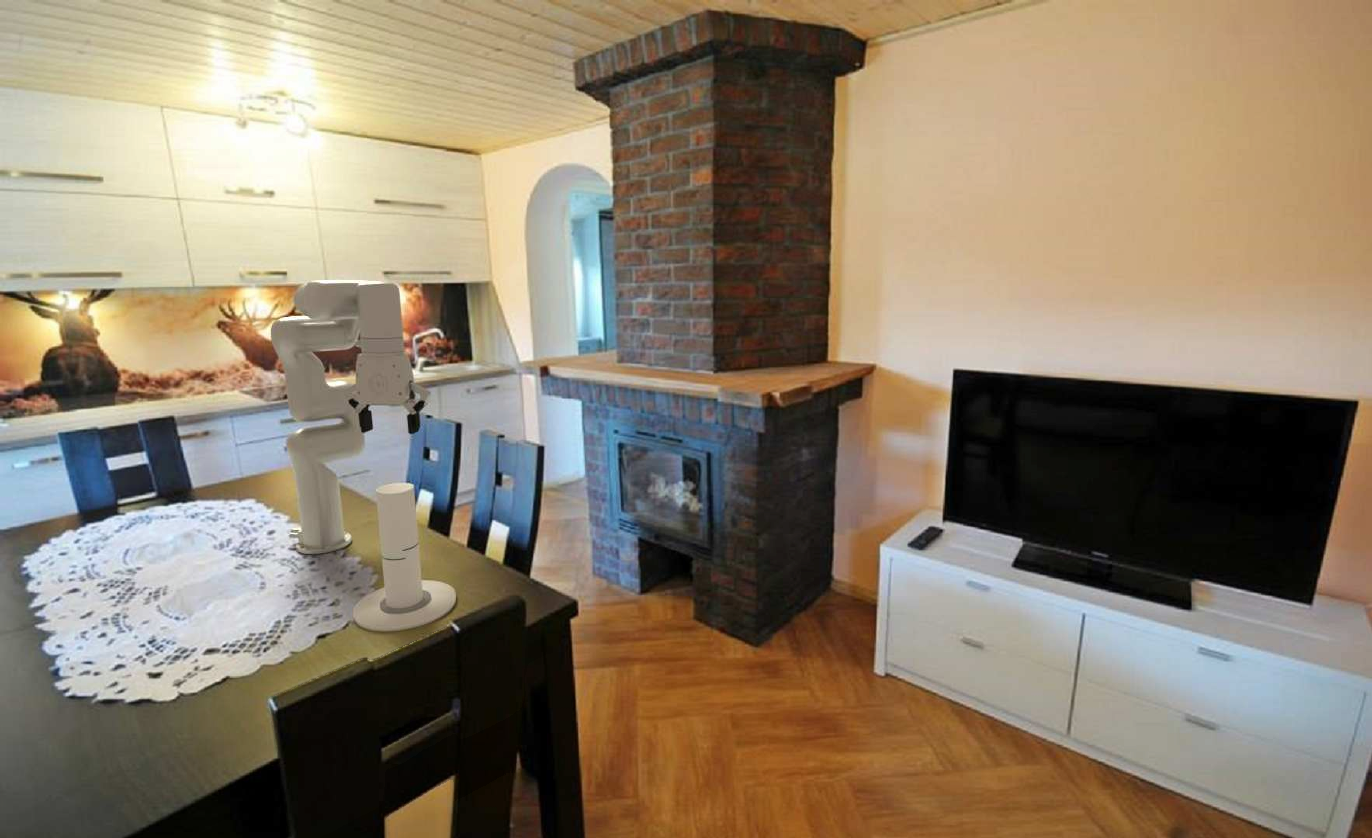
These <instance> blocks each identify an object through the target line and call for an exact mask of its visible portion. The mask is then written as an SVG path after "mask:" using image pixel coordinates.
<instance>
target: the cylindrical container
mask: <svg viewBox="0 0 1372 838" xmlns="http://www.w3.org/2000/svg"><path fill="white" fill-rule="evenodd" d="M415 494H416V493H415V486H414V484H412V483H411V482H410V483H408V482H393V483H388V484H383V485H381V486H378V487H377V488H376V489H375V498H376V507H377V509H376V510H377V518H378V519H377V520H378V528H379V529H378V530H379V541H380V552H381V561H382V572H383V582H384V587H385V596H386V604H387V606H389V607H391V608H406V607H410V606H413V605H415V604H417V603H419V602H420V601H421V600H422V598H423V593H422V580H423V579H422V570H421V568H422V567H421V558H420V546H419V543H420V542H419V533H418V523H417V521H418V520H417V509H416V506H417V505H416V496H415Z"/></svg>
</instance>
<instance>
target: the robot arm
mask: <svg viewBox="0 0 1372 838" xmlns="http://www.w3.org/2000/svg"><path fill="white" fill-rule="evenodd" d="M293 304H294V307H295V308H296V310H297V311H298V312H299V313H300V314H301V315H300V316H299V315H298V316H288V317H287V316H286V317H282V318H279V319H276V320H275V321H274V322H273V323H272V324H271V326H270V327H271V328H270V340H271V343H272V346H273V349H274V351H275V353H276V355H277V357H278V359H279V361H280V362H281V366H282V369H283V372H284V381H285V390H286V395H287V396H286V397H287V404H288V409H289V413H290V416H291V418H292V419H293V420H294V421H295V422H298V423H315V422H316V423H317V422H323V421H332V420H337V419H338V420H339V421H340V422H339V423H330V424H323V425H314V426H310V427H309V426H308V427H302V428H300V429H297V430H294V431H293V432H291V433H290V434H289V435H288V436H287V438H286V440H285V441H286V442H285V445H286V446H285V447H286V451H287V454H288V458H289V460H290V465H291V468H292V470H293V471H292V472H293V477H294V483H295V490H296V497H297V498H296V499H297V506H298V515H299V523H300V527H292V528H291V529H290V532H289V534H288V537H289V538H290V539H297V540H298V542H297V543H296V545H295V547H296V551H297V552H298V553H300V554H305V555H319V554H326V553H327V554H328V553H331V552H334V551H338V550H340V549H342V548H345V547H347V546H348V545H349V544H351V543H352V541H353V539H352V534H350V533H349V532H347V531H345V528H344V527H345V526H344V519H343V518H344V517H343V509H342V508H343V507H342V499H341V492H340V491H341V489H340V482H339V477H338V475H337V474H336V473H335V471H333V470H332V469H330V468H329V467H328V466H327V465H326V464H327V463H331V462H336V461H341V460H347V459H351V458H356V457H359V456H360V455H362V454H363V452H364V451H365V444H366V443H365V442H366V441H365V434H366V433H367V432H370V431H372V430H373V429H374V425H373V422H374V421H373V414H372V410H369V409H370V407H371V406H390V407H394V406H395V407H396V406H403V407H404V408H405V409H406V411H407V412H408V414H407V415H406V419H407V420H406V421H407V422H406V423H407V432H408V434H409V435H413V434H414V435H415V434H416V433H418V432H419V431H420V429H421V415H420V412H421V413H422V410H423V409H424V408H425V407H426V406H427V404H428V401H429V399H430V397H431V394H432V393H431V391H430V390H428V389H427V388H425V387H422V385H419V384H417V383H415V377H414V372H413V371H414V370H413V366H412V363H411V360H410V356H409V354H408V353H406V352H405V342H404V330H403V329H404V328H403V316H402V306H401V292H400V288H399V286H398V285H397V284H396V283H394V282H389V281H388V282H387V281H386V282H385V281H378V280H353V279H352V280H350V279H347V280H345V279H343V280H341V279H338V280H337V279H336V280H333V279H331V280H329V279H327V280H311V281H308V282H306V283H304V284H302V285H300V286H298V288H297V289H296V291H295V292H294V295H293ZM359 337H360V338H359ZM354 347H356V348H360V352H361V353H358V354H357V357H356V364H355V384H353V383H352V382H349V381H343V380H342V381H341V380H340V381H331V382H327V381H326V375H325V374H326V373H325V365H324V364H323V362H322V361H321V359H320V358H319V357H318V356H317V355H316V354H315V353H314V352H328V351H331V352H332V351H344V350H345V351H346V350H349V349H351V348H354ZM416 394H418V395H419V396H420V397H419V400H418V401H416V400H415V399H416V397H417V395H416Z"/></svg>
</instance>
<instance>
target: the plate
mask: <svg viewBox="0 0 1372 838" xmlns="http://www.w3.org/2000/svg"><path fill="white" fill-rule="evenodd" d="M421 580H422V593H423V598H422V600H421V601H420V602H419V603H417V604H415V605H413V606H410V607H406V608H391V607H389V606H387V604H386V596H385V586H384V587H382V588H379V589H377V590H374V591H373V592H371V593H369V594H367V595H366V596H364V597H362V598H361V599H360V600H359V601H358V602H357V603H356V604H355V606H354V608H353V611H352V615H353V621H354V623H355V624H356V625H357V626H358V627H360V628H362V629H363V630H367V631H373V632H381V633H382V632H383V633H385V632H389V633H390V632H399V631H406V630H411V629H414V628H415V629H416V628H419V627H422V626H425V625H427V624H430V623H432V622H435V621H436V620H438V619H440V618H442V617H443V616H446V615H447V614H448V613H449V612H450V611H451V610H452V609H453V608H454V606H455V605H456V601H457V594H456V590H455V588H453V587H452V586H451V585H449V584H448V583H446V582H442V581H439V580H438V581H437V580H428V579H427V580H425V579H421Z"/></svg>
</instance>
